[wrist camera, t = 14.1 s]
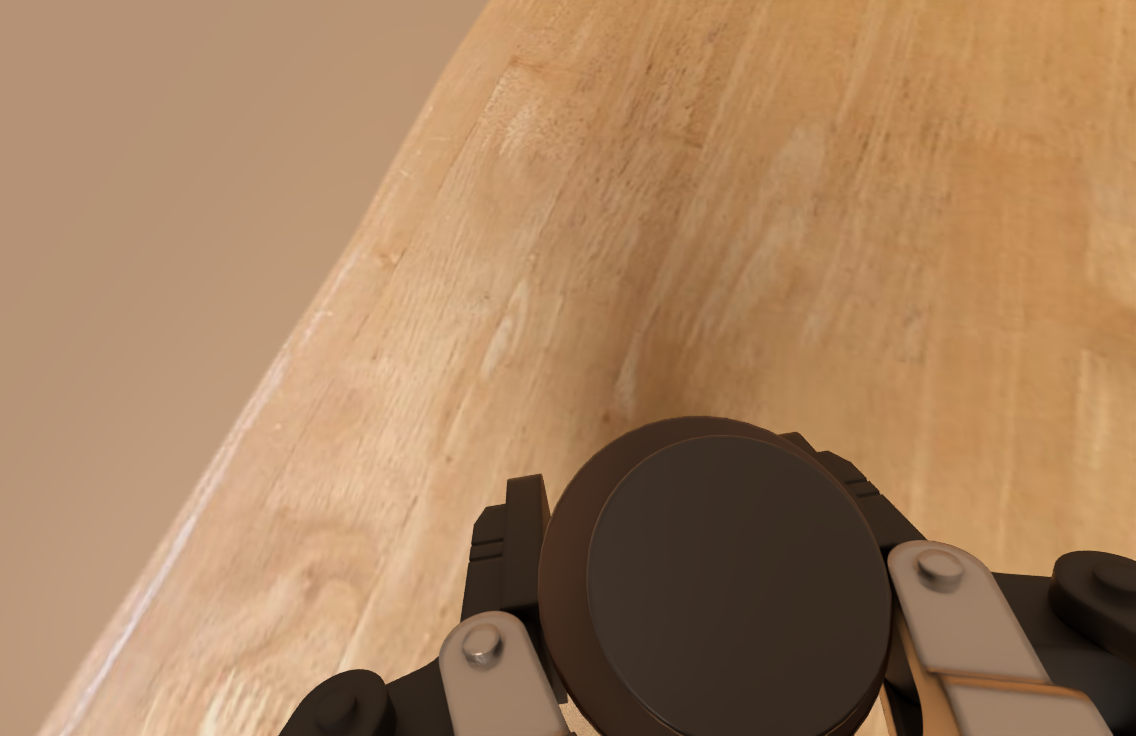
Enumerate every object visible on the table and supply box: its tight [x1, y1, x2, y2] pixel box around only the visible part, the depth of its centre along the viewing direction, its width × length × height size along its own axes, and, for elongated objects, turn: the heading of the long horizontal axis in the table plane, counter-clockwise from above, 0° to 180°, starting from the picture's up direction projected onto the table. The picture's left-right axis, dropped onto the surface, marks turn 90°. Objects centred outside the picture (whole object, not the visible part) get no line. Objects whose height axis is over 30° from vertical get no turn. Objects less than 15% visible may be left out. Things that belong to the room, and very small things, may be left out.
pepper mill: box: [538, 416, 893, 736], centre depth 11 cm, size 5×5×10 cm
